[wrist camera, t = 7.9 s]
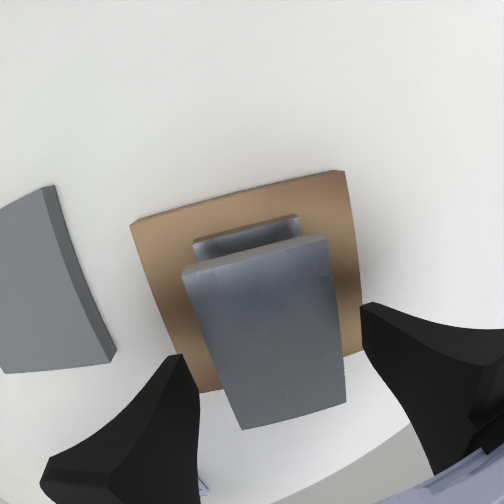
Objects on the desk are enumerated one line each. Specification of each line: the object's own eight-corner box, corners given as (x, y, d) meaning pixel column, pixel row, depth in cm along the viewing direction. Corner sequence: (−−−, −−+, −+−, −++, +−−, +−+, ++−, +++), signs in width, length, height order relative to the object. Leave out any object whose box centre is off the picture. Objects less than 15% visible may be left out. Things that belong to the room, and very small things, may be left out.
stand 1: (116, 349, 18) (110, 362, 16) (12, 363, 17) (4, 373, 16) (54, 185, 14) (41, 187, 13) (-42, 237, 14) (-54, 242, 13)
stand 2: (356, 337, 19) (365, 349, 18) (197, 379, 19) (196, 393, 17) (334, 170, 16) (344, 171, 14) (137, 220, 16) (129, 225, 14)
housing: (318, 345, 17) (346, 402, 12) (235, 367, 17) (242, 430, 12) (293, 213, 15) (327, 238, 10) (194, 239, 15) (181, 276, 10)
